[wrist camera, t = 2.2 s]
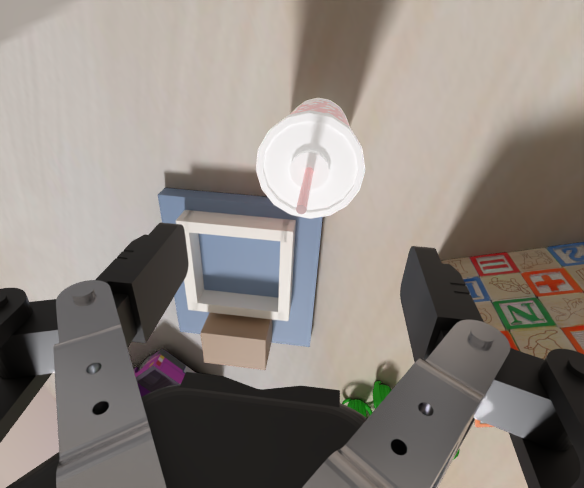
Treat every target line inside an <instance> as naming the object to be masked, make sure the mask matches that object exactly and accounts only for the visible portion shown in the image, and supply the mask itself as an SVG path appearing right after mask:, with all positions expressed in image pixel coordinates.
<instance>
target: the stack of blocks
mask: <svg viewBox="0 0 584 488" xmlns="http://www.w3.org/2000/svg"><path fill="white" fill-rule="evenodd" d="M441 263H444V264H450V265H451V266H452V267H454V268H455V269H456V270H457V271H458V272H459V273H460V274H461V276H462V278H463V280H464V282H465V284H466V285H465V286H467V288H468V290H469V292H470V295H471V296H472V298H473V300H474V302H475V304H476V306H477V309H478V311H479V313H480V315H481V317H482V319H483V321H484V323H487V324H489V325H491V326H493V327H495V328H496V329H498V330H499V331H500V332H501V333H502V334H503V335H504V336H505V337H506V338H507V340H508V341H509V343H510V347H511V348H513V349H515V350H518V351H520V352H523V353H526V354H529V355H532V356H536V357H539V358H542V359H545V358H546V356H547V355H548V353H549V352H550V351H552V350H554V349H569V350H573V351H577V352H579V353H582V354H584V242H580V243H573V244H565V245H558V246H550V247H547V248H538V249H531V250H523V251H516V252H509V253H507V252H504V253H496V254H489V255H481V256H474V257H465V258H457V259H450V260H442V261H441ZM474 425H475V427H494V426H492V425H489V424H487V423H484V422H482V421H479V420H477V419H475V421H474Z"/></svg>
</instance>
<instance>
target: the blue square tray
mask: <svg viewBox="0 0 584 488" xmlns="http://www.w3.org/2000/svg"><path fill="white" fill-rule="evenodd" d="M158 199H159V205H160V211H161V218H162V223H172V224H181V225H183V227H184V230H185V238H186V245H187V253H188V262H189V264H188V272H187V275H186V277H185V279H184V281H183V283H182V284H181V286H180V287H179V289H178V291H177V292H176V294H175V296H174V297H175V304H176V310H177V316H178V322H179V328H180V332H188V333H196V334H201V341H202V350H203V358H204V363H212V364H220V365H228V366H236V367H244V368H252V369H260V370H265V369H266V365H267V360H268V355H269V351H270V346H271V342H272V343H280V344H289V345H297V346H306V347H310V339H311V329H312V319H313V308H314V298H315V288H316V278H317V268H318V258H319V248H320V238H321V228H322V218H323V217H318V218H312V219H309V218H304V217H299V216H294V215H290V214H288V213H287V212H285V211H283V210H282V209H280V208H278V207H277V206H275V205H274V204H273V203H272V202H271V200H270V199H269V198H268V197H263V196H252V195H240V194H229V193H218V192H207V191H195V190H184V189H173V188H164V189H163V190H162V191H161V192H160V193H159V194H158Z"/></svg>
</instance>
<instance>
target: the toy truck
mask: <svg viewBox="0 0 584 488" xmlns="http://www.w3.org/2000/svg"><path fill="white" fill-rule="evenodd" d="M133 370H134V373H135V377H136V380H137V384H138V388H139V391H140V395H141V397H142V396H144V395H146V394H148V393H150V392H153V391H155V390H157V389H161V388H164V387H167V386H172V385H176V384H181V382H182V380H183V378H184V376H185V373H186V372H192V373H196V372H194V371H193V370H191V369H190V368H189V367H187V366H186V365H185V364H183V363H182V362H180V361H179V360H178V359H176V358H175V357H174V356H172V355H171V354H170V353H168V352H167V351H165V350H164V349H163V348H162V349H161V350H159V351H158V352H157V353H155V354H151V355H149V356H148V357H147V358H146V359H145V360H144V361H143V363H142V364H141V366H140V367H139V368H138V367H136V368H134V369H133Z"/></svg>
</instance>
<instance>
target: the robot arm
mask: <svg viewBox="0 0 584 488" xmlns="http://www.w3.org/2000/svg"><path fill="white" fill-rule="evenodd" d="M188 264H189V262H188V253H187V245H186V238H185V230H184V227H183V225H181V224H172V223H159V224H158V225H157V226H156V227H155V228H154V230H153V231H152V232H151V233H150V234H149V235H143V236H141V237H139V238H137V239H136V240H134V241H132V242H131V243H130V244H129V245H128V246H127V247H126V248H125V249H124V252H121V254H120V255H119V256H118V257H117V259H115V260H114V261H113V262H112V263H111V264H110V265H109V266H108V267H107V268H106V269H105V270H104V271H103V272H102V273H101V274H100V276H99V277H98V278H97V279H96V280H89V281H83V282H79V283H76V284H74V285H72V286H70V287H68V288H66V289H65V290H63V291H62V292H61V293H60V294H59V295H58V297H57V299H54V300H44V301H35V302H29V300H28V298H27V296H26V293H25V292H24V291H23V290H21V289H18V288H3V289H0V442H1V441H2V440H3V438H4V437H5V436H6V434H7V433H8V432H9V430H10V429H11V428H12V426H13V425H14V424H15V422H16V421H17V420H18V418H19V417H20V416H21V414H22V413H23V411H24V410H25V409H26V408H27V406H28V405H29V404H30V402H31V401H32V400H33V398H34V397H35V396H36V394H37V393H38V391H39V390H40V388H41V387H42V386H43V385H44V383H45V382H46V381H47V379H48V378H49V377H50V375H51V374H52V373H55V387H56V404H57V420H58V437H59V452H58V453H57V454H55V455H54V456H52V457H51V458H50V459H48V460H46V461H45V462H43V463H42V464H40V465H39V466H37V467H36V468H34V469H33V470H31V471H30V472H28V473H27V474H25V475H24V476H23V477H21V478H20V479H18V480H17V481H15V482H14V483H12V484H11V485H9V486H8V487H6V488H438V486H439V485H440V483H441V481H442V479H443V477H444V475H445V473H446V471H447V469H448V468H449V466H450V464H451V462H452V460H453V459H454V457H455V455H456V453H457V451H458V450H459V448H460V446H461V444H462V443H463V441H464V439H465V437H466V435H467V434H468V432H469V430H470V428H471V427H472V425H473V423H474V421H475V419H477V420H479V421H482V422H484V423H487V424H489V425H492V426H494V427H496V428H499V429H501V430H504V431H506V432H509V434H510V437H511V440H512V443H513V446H514V448H515V451H516V454H517V457H518V460H519V463H520V465H521V468H522V471H523V474H524V477H525V480H526V482H527V485H528V488H584V354H582V353H579V352H577V351H573V350H569V349H554V350H552V351H550V352H549V353H548V355H547V356H546V358H545V359H542V358H539V357H536V356H532V355H529V354H526V353H523V352H520V351H518V350H515V349H513V348H511V347H510V343H509V341H508V340H507V338H506V337H505V336H504V335H503V334H502V333H501V332H500V331H499V330H498V329H496V328H495V327H493V326H491V325H489V324H487V323H484V321H483V319H482V317H481V315H480V313H479V311H478V309H477V306H476V304H475V302H474V300H473V298H472V296H471V295H470V292H469V290H468V288H467V286H465V285H466V284H465V282H464V280H463V278H462V276H461V274H460V273H459V272H458V271H457V270H456V269H455V268H454V267H452V266H451V265H450V264H444V263H441V260H440V258H439V256H438V253H437V251H436V249H435V248H427V247H416V246H412V247H411V248H410V251H409V254H408V259H407V263H406V267H405V271H404V275H403V279H402V283H401V290H400V297H401V303H402V308H403V312H404V317H405V321H406V326H407V330H408V335H409V339H410V344H411V348H412V352H413V357H414V361H415V363H414V364H413V366H412V367H411V368H410V369H409V370H408V372H407V373H406V374H405V375H404V376H403V377H402V379H401V380H400V381H399V382H398V383H397V384H396V386H395V387H394V388H393V389H392V390H391V392H390V393H389V394H388V395H387V396H386V397H385V399H384V400H383V401H382V402H381V403H380V405H379V406H378V407H377V408H376V409H375V410H374V412H373V413H372V414H371V415H370V416H369V417H368V419H367V418H366V417H365V416H363V415H362V414H360V413H359V412H357V411H356V410H354V409H352V408H350V407H348V406H346V405H343V404H341V403H340V390H332V389H324V388H315V387H307V386H294V387H284V388H274V389H265V390H260V389H256V388H253V387H250V386H248V385H245V384H242V383H240V382H237V381H234V380H232V379H229V378H226V377H224V376H217V375H209V374H201V373H192V372H186V373H185V376H184V378H183V380H182V382H181V384H176V385H172V386H167V387H164V388H161V389H157V390H155V391H153V392H150V393H148V394H146V395H144V396H142V397H141V395H140V391H139V388H138V384H137V380H136V377H135V373H134V370H133V366H132V363H131V359H130V355H129V352H128V346H129V345H130V343H131V342H141V343H146V342H147V340H148V339H149V337H150V335H151V334H152V332H153V330H154V329H155V327H156V325H157V324H158V322H159V320H160V319H161V317H162V316H163V314H164V312H165V311H166V309H167V307H168V306H169V304H170V302H171V301H172V299H173V297H174V296H175V294H176V292H177V291H178V289H179V287H180V286H181V284H182V283H183V281H184V279H185V277H186V275H187V272H188Z"/></svg>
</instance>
